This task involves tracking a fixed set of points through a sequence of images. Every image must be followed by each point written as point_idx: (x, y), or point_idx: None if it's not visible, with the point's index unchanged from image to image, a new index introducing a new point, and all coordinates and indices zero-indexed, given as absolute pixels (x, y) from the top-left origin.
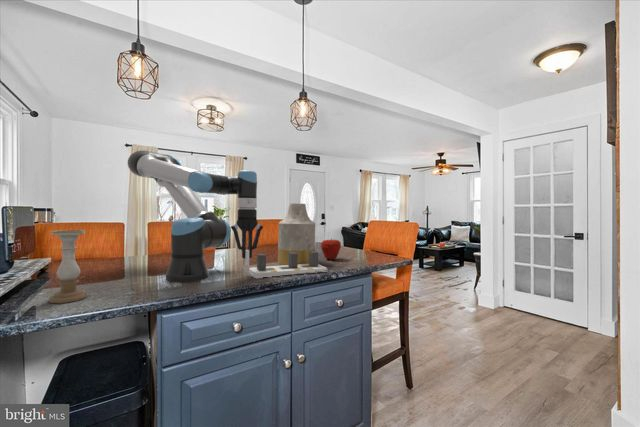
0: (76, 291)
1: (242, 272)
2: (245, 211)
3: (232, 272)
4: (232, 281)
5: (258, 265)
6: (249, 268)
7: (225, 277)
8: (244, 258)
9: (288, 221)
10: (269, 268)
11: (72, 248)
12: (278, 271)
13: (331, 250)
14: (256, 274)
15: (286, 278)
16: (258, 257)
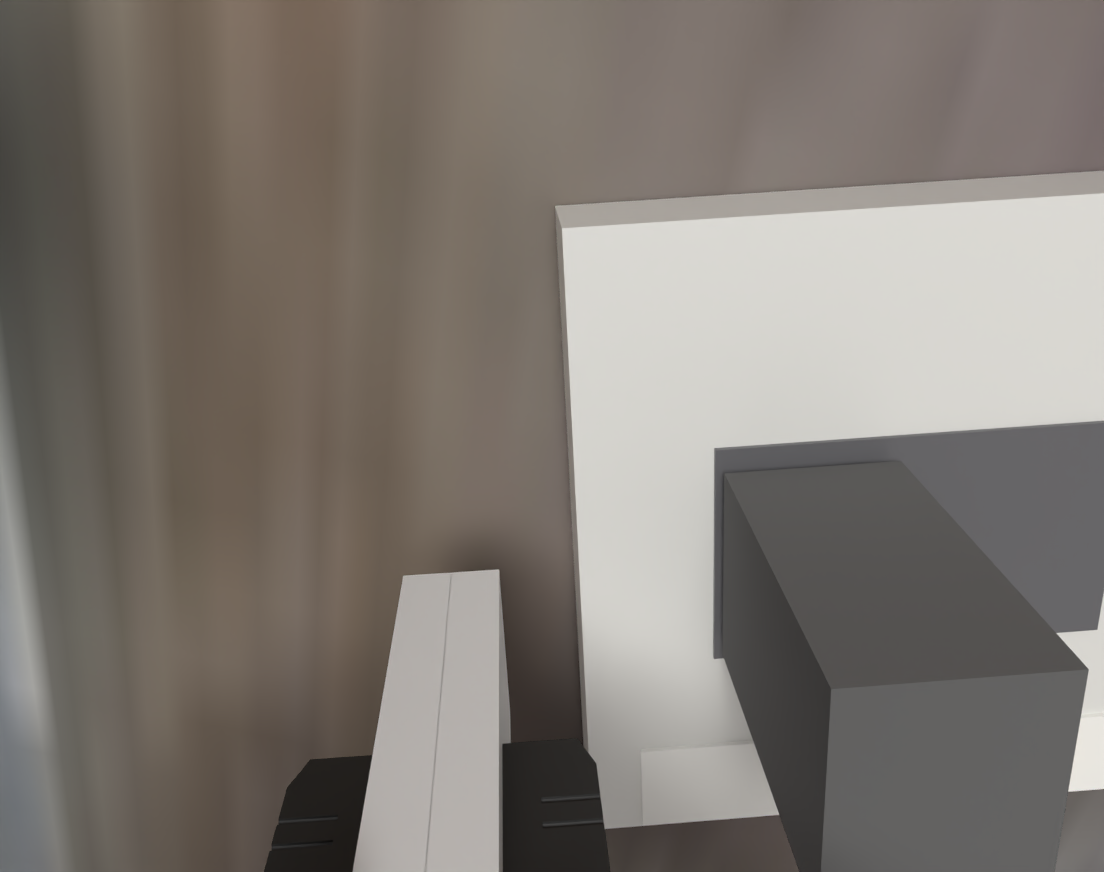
0: None
1: (402, 176)
2: None
3: (149, 103)
4: (189, 846)
5: (745, 683)
6: (565, 311)
7: (31, 558)
8: (384, 697)
9: None
10: (1020, 488)
11: None
12: (1075, 789)
13: None
14: (621, 812)
15: (1093, 858)
16: (799, 819)
